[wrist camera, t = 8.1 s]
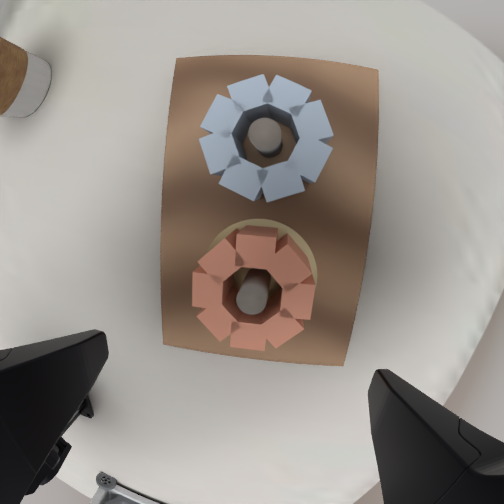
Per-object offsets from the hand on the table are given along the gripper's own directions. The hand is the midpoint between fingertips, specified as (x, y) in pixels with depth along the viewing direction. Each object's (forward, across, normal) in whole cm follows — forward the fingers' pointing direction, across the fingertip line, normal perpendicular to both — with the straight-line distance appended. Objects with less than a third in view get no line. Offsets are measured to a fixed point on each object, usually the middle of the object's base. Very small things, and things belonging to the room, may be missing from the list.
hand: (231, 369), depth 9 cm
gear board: (+12, 0, -4) cm, 12 cm away
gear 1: (+10, 0, -8) cm, 13 cm away
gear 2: (+10, 0, 0) cm, 10 cm away
